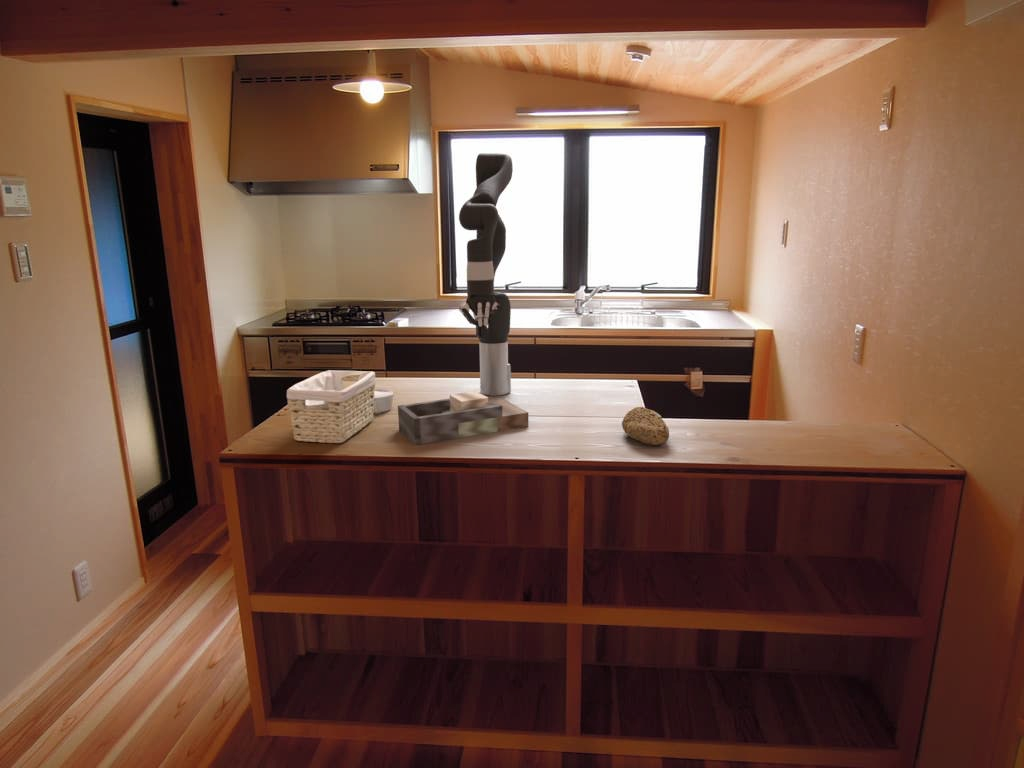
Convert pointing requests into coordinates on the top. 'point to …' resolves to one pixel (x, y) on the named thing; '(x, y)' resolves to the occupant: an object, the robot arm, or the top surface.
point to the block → (467, 401)
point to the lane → (456, 420)
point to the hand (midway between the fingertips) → (481, 338)
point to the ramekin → (382, 400)
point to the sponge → (645, 426)
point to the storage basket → (331, 406)
